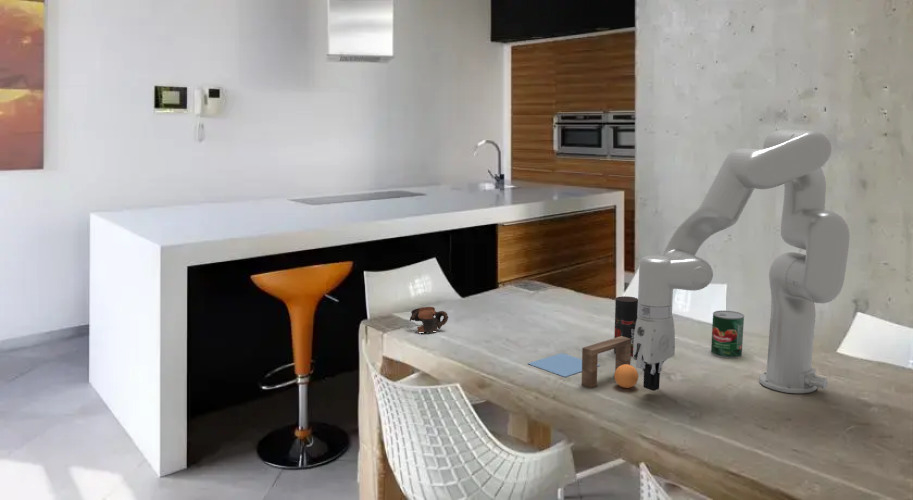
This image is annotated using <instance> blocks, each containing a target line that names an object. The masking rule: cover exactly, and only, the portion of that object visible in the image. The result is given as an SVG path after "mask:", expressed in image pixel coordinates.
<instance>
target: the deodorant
mask: <svg viewBox="0 0 913 500" xmlns="http://www.w3.org/2000/svg"><path fill="white" fill-rule="evenodd" d="M614 308H615V309H614V310H615V311H614V335H613V337H614V338H617V337H620V336H623V337H627V338H630V339H631V357H633V342H634V333H635V326H636V321H637V318H638V317H637V310H638V297H633V296H617V297H615V305H614ZM613 354H614V355H616V348H615V349H613Z"/></svg>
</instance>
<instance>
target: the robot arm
mask: <svg viewBox="0 0 913 500" xmlns="http://www.w3.org/2000/svg"><path fill="white" fill-rule="evenodd" d="M762 147H763V148H762V149H761V148H748V147H747V148H745V147H742V148H736V149H734V150H733V151H731V152H729V154H727V156H726V157H725V159H724V161H723V162H722V164H721V167H720V168H719V169H718V172H717V174H716V176H715V178H714V180H713V182H712V183H711V185H710V187H709V189H708V190H707V193H706V195H705V197H703V200H702V202H701V204H700V205H699V207H698V208H697V209H696V210H694V212H692V213H691V214H690V215H689V216H688V217H687V218H686V219H685V220H684V221H683V222H682V223H681V224H680V225H679V226H678V227H677V228H676V230H675V231H674V232H673V234H672V236H671V238H670V240H669V241H668V243H667V245H666V247H665V248H664V251H663V253H662V255H656V254H655V255H646V256H643V257H642V258H641V259H640V260H639V265H638V286H637V287H638V290H637V293H638V294H637V295H638V296H637V299H638V310H637V317H638V318H637V321H636V326H635V333H634V342H633V356H632V357H633V359H634V360H635V361H636V362H635V367H636V368H638V369H642V372H643V388H644V389H646V390H649V391H653V392H654V391H657V390H659V389H660V383H661V382H660V379H661V372H662V369H663V364H664V362H666V361H667V360H669V359H671V358H672V357H674V356H675V351H676V345H675V344H676V335H675V334H676V331H675V329H676V328H675V320H674V316H673V298H674V297H673V296H674V290H681V291H683V290H684V291H701V290H703V289H705V288H706V287H708V286H709V285H710V284H711V282H712V280H713V277H714V271H713V268H712V266H711V265H710V263H709V262H707V261H706V260H705V259H703V258H701V257H699V256H697V255H696V254H697V252H698V251H699V249H700V248H701V246H702V245H703V243H705V241H707V240H708V239H709V238H710V237H711V236H713V235H715V234H717V233H719V232H721V231H724V230H726V229H729V228H731V227H732V226H734V225H735V224H737V222H738V221H739V218H740V217H741V214H742V213H743V211H744V209H745V207H746V205H747V204H748V202H749V199H750V198H751V195H752V194H753V192H754V190H755V189H757V190H769V189H772V188H776V187H779V186H783V187H784V191H783V193H784V194H783V195H784V196H783V203H782V212H781V214H782V215H781V220H780V221H781V222H780V236H781V239H782V240H783V242H784V243H786V244H788V245H789V246H792V247H794V248H797V249H800V250H805V254H804V253H800V252H785V253H781V254H780V255H778V256H777V257H776V258H774V260H773V261H772V263H771V265H770V268H769V272H768V277H769V278H768V279H769V288H770V299H771V300H770V303H771V304H770V319H769V332H768V333H769V334H768V345H767V346H768V347H767V361H766V372H762V373H761V374H759V376H758V381H759V384H761V385H762V386H764V387H766V388H768V389H770V390H774V391H777V392H780V393H787V394H788V393H789V394H808V393H813V392H815V391H816V390H817V389H818V388H820V389H824V390H825V389H826V388H827V387H828V380H827V377H823V376H818V375H817V374H816V370H817V369H816V368H814V367H812V362H813V351H814V340H815V339H814V337H815V326H816V316H817V315H816V306H815V305H816V304H827V303H831V302H832V301H834V300H836V298H837V297H838V296H839V295H840V293H841V291H842V289H843V286H844V283H845V276H846V271H847V270H846V269H847V262H848V254H849V247H850V231H849V230H850V229H849V227H848V224H847V222H846V220H845V219H844V218H843V216H841V215H840V214H839V213H836V212H834V211H831V210H826V206H825V205H826V191H827V190H826V188H827V184H826V183H827V182H826V177H825V174H824V170H823V169H822V167H824V166H825V165H826V163H827V162H828V161H829V160H830V157H831V155H832V154H831V153H832V143H831V141H830V139H829V138H828V136H826V134H824V133H822V132H820V131H817V130H809V129H804V130H803V129H779V130H775V131H773V132H771V133H769V134H768V135H767V136H766V137H765V138H764V141H763V146H762ZM815 303H816V304H815Z"/></svg>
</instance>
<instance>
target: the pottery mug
mask: <svg viewBox="0 0 913 500" xmlns="http://www.w3.org/2000/svg"><path fill="white" fill-rule="evenodd" d="M410 313H411V316H410V318H409V320H408V321H409V322H411V321H415V322H422V323H421V324H422V325H420V326H417V327H416V329H417V333H418V332H433V331H437V332H438V330H440V329H441V327H442V326H445V324H446V323H447V322H448V320H449V316H448V313H447V311H445V310H444V311H443V310H439V311H437V310H436V308H435V307H434V306H424V307H418V308H415V309H413V310H411V312H410ZM434 316H435V317H434ZM441 318H442V319H441Z"/></svg>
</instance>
